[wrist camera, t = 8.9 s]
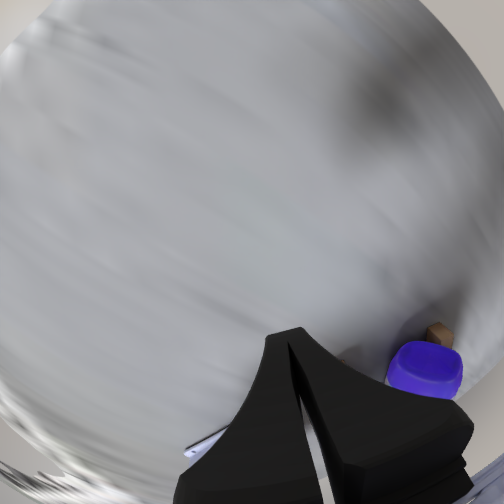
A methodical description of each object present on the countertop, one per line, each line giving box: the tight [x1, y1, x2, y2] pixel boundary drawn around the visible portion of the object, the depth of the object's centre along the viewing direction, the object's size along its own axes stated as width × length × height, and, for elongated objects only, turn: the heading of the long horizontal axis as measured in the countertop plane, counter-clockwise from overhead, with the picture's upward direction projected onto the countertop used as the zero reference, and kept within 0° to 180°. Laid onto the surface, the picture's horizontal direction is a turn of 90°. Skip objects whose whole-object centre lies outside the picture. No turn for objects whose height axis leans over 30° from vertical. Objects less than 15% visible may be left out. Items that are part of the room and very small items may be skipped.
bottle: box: [384, 341, 463, 400], centre depth 22 cm, size 7×6×17 cm
